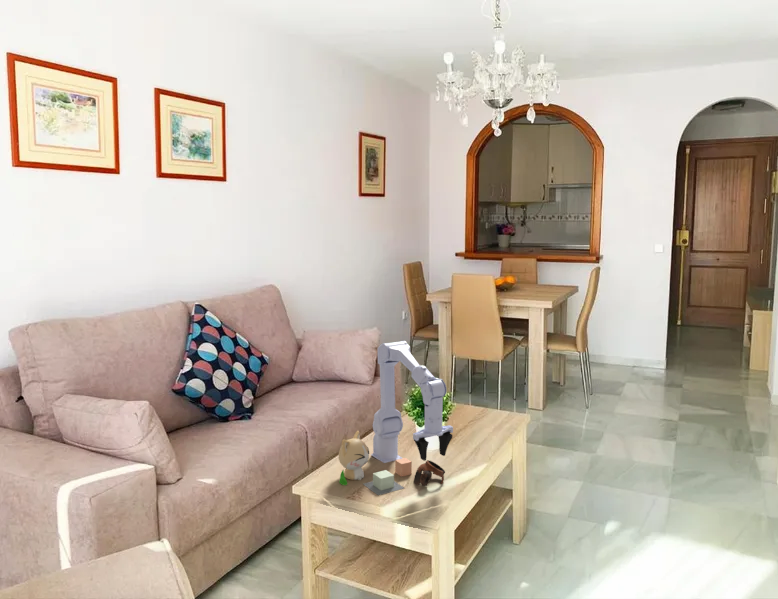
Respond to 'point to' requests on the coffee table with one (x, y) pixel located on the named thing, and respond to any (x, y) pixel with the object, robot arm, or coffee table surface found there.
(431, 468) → the brown ring with handle
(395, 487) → the plate
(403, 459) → the brick
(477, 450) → the coffee table surface
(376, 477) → the brick
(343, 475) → the kitten
